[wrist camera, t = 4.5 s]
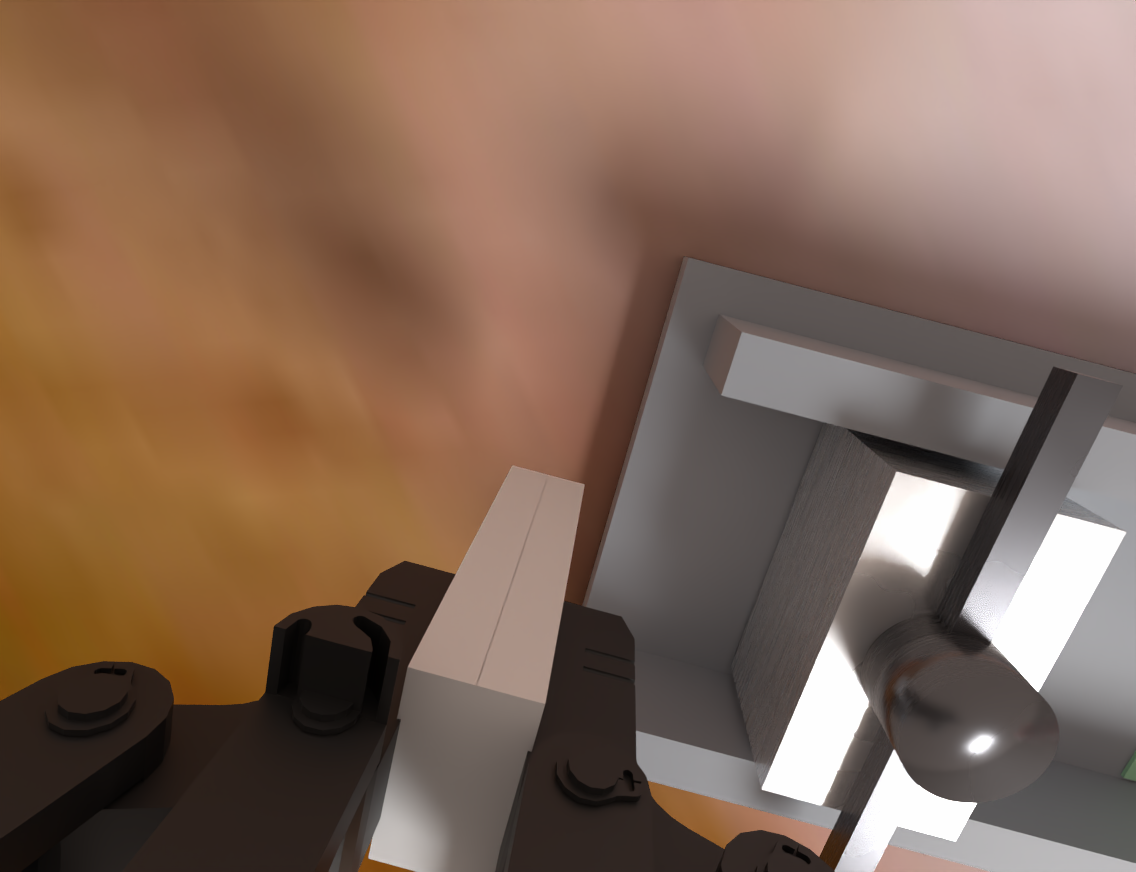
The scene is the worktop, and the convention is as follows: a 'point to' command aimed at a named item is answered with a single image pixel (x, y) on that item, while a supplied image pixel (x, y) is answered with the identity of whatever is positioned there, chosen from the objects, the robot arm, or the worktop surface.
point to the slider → (922, 623)
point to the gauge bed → (761, 507)
